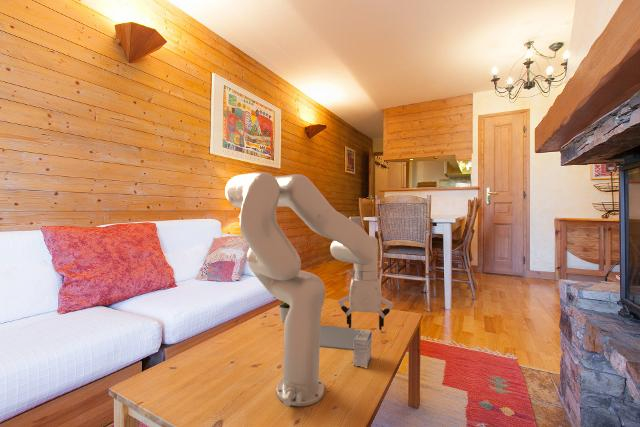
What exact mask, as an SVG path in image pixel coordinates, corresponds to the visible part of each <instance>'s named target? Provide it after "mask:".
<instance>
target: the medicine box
mask: <svg viewBox="0 0 640 427" xmlns="http://www.w3.org/2000/svg"><path fill="white" fill-rule="evenodd" d="M372 336H373V333H372V331H369V330H365V329H361V330H359V331H358V333H357V335H356V337H355V338H354V350H353V351H352V352H353V356H352V357H353V358H352V360H353V362H352V365H355V366H354V367H357V366H362V367H367V366H368V367H369V364H368V363H370V361H369V360H371V358H372ZM370 357H371V358H370ZM362 367H361V368H362ZM368 367H367V368H368Z"/></svg>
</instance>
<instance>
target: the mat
mask: <svg viewBox="0 0 640 427" xmlns="http://www.w3.org/2000/svg"><path fill="white" fill-rule="evenodd" d="M355 329H359V328H355V327H351V328H349V327H348V326H347V327H344V326H334V325H322V324H320V347H321V348H328V349H329V348H330V349H338V348H341V349H340V350H348V349H354V338H355V337H356V335H357V332H358V330H356V331H355Z"/></svg>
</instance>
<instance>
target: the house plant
mask: <svg viewBox="0 0 640 427" xmlns="http://www.w3.org/2000/svg"><path fill="white" fill-rule="evenodd" d="M272 299H277V298H275V297H274V296H273V297H272ZM277 300H278V299H277ZM278 309H279V316H280V317H279V318H280V322H282V323H285V319H286V316H287V314H288V312H289V309H290V305H289V304H287V303H285V302H283V301H281V304H279V305H278Z"/></svg>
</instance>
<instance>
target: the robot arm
mask: <svg viewBox="0 0 640 427" xmlns="http://www.w3.org/2000/svg"><path fill="white" fill-rule="evenodd" d="M224 190H225V191H224V192H225V197H226V199H227V201H228V202H229V204H230V205H232V206H233V207H235V208H238V209H240V216H239V228H240V233H241V236H242V239H243V240H244V242H245V243H246V244H247V246H248V251H247V254H246V255H247V256H246V259H247V260H246V261H247V265H248V267H249V268H250V269H249V270H251V272H252V273H253V275H255V277H256V278H257V279H258V281H259V282H260V283H261V284H262V285H263V287H264V288H265V289H266V290H267V291H268V293H269V294H271V296H273V297H275V298H274V299H276V298H277V300H279V301H281V302H282V301H283V302H285V303H287V304H289V305H290V309H289V312H288V314H287V316H286V319H285V322H284V325H283V354H282V355H283V359H282V360H283V361H282V364H283V365H282V379H281V380H280V381H279V382H278V383H277V385H276V396H277V397H278V399H279V400H280V401H282V403H283V405H284V406H285V407H290V406H293V407H305V406H306V407H307V406H311V405H314V404H315V403H317V402H319V401H320V400H321V399H322V398H323V396H324V394H325V384H324V382H323V381H322V380H321V379H320V378H319V377H320V350H321V349H320V325H321V321H322V320H321V319H322V310H323V306H324V303H325V302H324V301H325V296H326V288H325V287H326V286H325V283H324V281H323V280H322V279H321V278H320V277H319V276H318V275H316V274H314V273H312V272H309V271H306V270H302V269H301V268H302V263H301V262H302V261H301V257H300V255H299V253H298V251H297V250H296V248H295V247H294V246H293V244H292V243H291V241H290V240H289V239H288V237H287V236H286V234H285V232H284V231H283V230H282V228H281V227H280V225H279V223H278V220H277V208H278V207H279V208H280V207H281V208H282V207H283V208H284V207H286V208H287V207H288V208H290V209H291V210H292V211H293V212H294V213H295V214H296V215H297V216H298V217H299V218H300V219H301V220H302V221H303V223H305V225H306V226H307V227H308V228H309V229H310V230H311V231H313V232H314V233H315V234H318V235H320V236H322V237H324V238H326V239H330V240H332V242H331V244H330V248H329V249H330V250H329V251H330V254H331V255H332V257H333V258H334V259H335V260H338V261H340V262H346V263H351V264H353V269H352V270H349V271H348V274H349V275H351V276H352V277H351V279H350V282H349V283H350V285H349V294H348V295H347V296H344V297H342V298H339V299H338V301H337V302H338V305H339V307H340V309H341V310H342V311H343V312H344V313H345V315H346V325H348V328H352V313H353V312H359V313H376V314H377V313H378V314H379V315H378V330H379V331H382V330H383V329H382V327H383V328H384V325H385V317H386V316H387V315H388V314H389V313H390V311H391V309H392V308H393V307H394V303H393V302H392V301H390V300H388V299H387V298H384V297H383V296H382V286H381V280H380V278H378V275H379V274H378V273H379V272H378V267H379V266H378V265H379V264H378V261H379V258H378V257H379V256H378V255H379V254H378V251H379V241H378V239H377V237H376V236H373V235H369V234H368V233H367V232H366V231H365V229H364V228H362V227H361V226H360V225H359V224H358V223H356V222H355V221H353V220H351V219H350V218H349V217H347V216H346V215H344V214H342V213H341V212H339V211H337V210H336V209H335V208H334V207H333V206H332V205H331V203H330V202H329V201H328V200H327V199H326V198H325V196H324V194H322V193H321V191H320V190H319V189H318V188H317V187H316V185H314V182H312V180H310V178H309V177H307V176H305V175H303V174H299V173H298V174H297V173H296V174H295V173H294V174H286V175H276V176H274V175H273V174H271V173H269V172H267V171H254V172H249V173H242V174H238V175H235V176H233V177H232V178H230V179H229V180H228V182H227V183H226V185H225V189H224ZM347 302H348V307H347V306H346V305H345V303H347ZM382 303H383V304H384V305H386V307H385V308H384V309H382V307H383V304H382Z"/></svg>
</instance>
